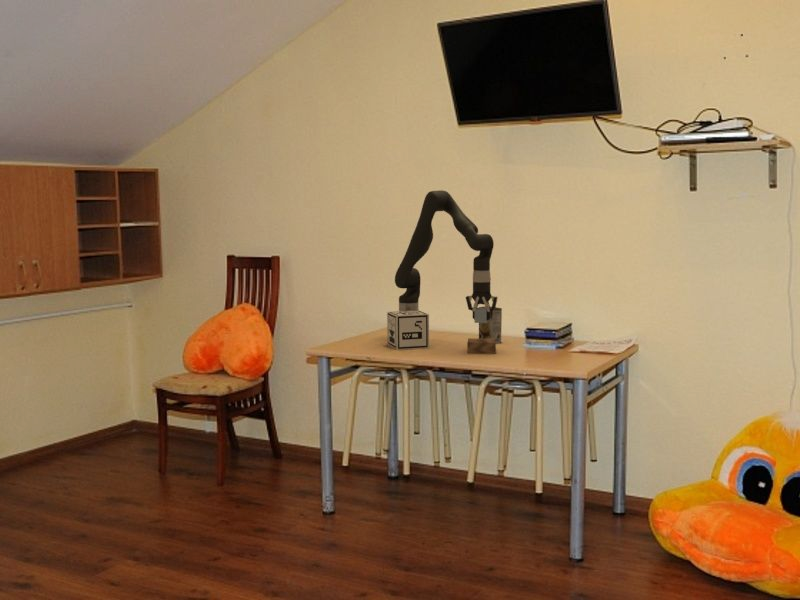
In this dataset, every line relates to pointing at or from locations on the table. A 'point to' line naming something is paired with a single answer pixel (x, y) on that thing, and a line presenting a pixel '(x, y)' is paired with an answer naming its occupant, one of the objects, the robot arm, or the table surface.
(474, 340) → the walnut block
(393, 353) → the table surface
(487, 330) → the coffee box
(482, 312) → the slate block
